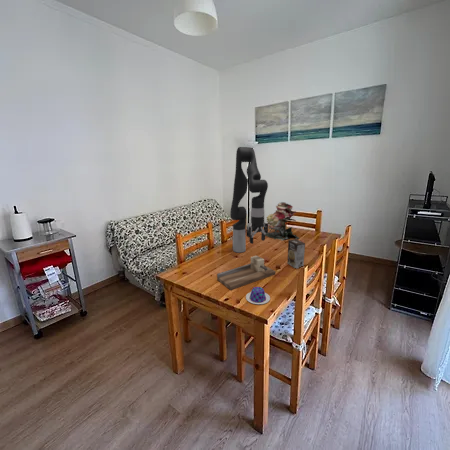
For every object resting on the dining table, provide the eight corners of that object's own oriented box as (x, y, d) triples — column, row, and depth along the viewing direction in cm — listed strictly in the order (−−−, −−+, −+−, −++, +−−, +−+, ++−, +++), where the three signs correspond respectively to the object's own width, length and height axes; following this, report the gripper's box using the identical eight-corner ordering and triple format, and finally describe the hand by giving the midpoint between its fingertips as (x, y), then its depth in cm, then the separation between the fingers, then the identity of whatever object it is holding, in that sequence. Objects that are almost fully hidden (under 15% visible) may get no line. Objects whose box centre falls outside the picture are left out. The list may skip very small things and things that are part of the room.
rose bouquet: (283, 229, 235) (284, 198, 227) (302, 238, 208) (305, 203, 200) (259, 233, 226) (259, 200, 218) (276, 243, 200) (277, 206, 192)
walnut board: (217, 279, 143) (217, 273, 142) (260, 265, 159) (260, 260, 158) (230, 290, 131) (230, 283, 130) (275, 274, 148) (275, 268, 147)
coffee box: (286, 263, 162) (287, 240, 158) (295, 261, 164) (296, 238, 160) (295, 268, 154) (296, 244, 149) (303, 267, 156) (305, 242, 152)
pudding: (253, 308, 116) (253, 298, 115) (241, 295, 127) (241, 286, 125) (274, 301, 120) (275, 292, 119) (261, 290, 131) (261, 281, 130)
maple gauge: (250, 267, 152) (250, 257, 150) (256, 266, 155) (256, 255, 153) (263, 275, 142) (263, 264, 141) (269, 273, 145) (269, 262, 143)
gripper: (262, 212, 148) (262, 237, 152) (243, 215, 141) (243, 242, 145) (271, 214, 142) (270, 241, 146) (251, 218, 135) (251, 246, 139)
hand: (257, 241), depth 146 cm, fingers open, 8 cm apart
